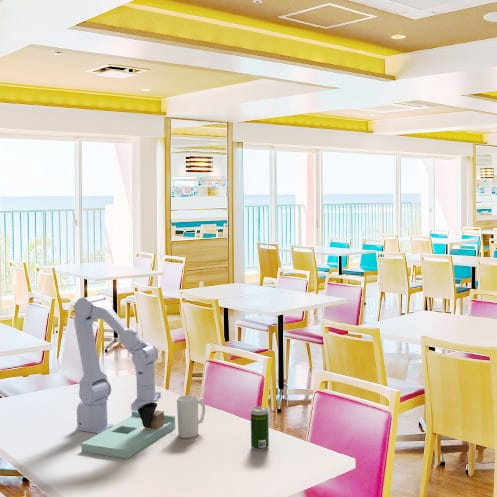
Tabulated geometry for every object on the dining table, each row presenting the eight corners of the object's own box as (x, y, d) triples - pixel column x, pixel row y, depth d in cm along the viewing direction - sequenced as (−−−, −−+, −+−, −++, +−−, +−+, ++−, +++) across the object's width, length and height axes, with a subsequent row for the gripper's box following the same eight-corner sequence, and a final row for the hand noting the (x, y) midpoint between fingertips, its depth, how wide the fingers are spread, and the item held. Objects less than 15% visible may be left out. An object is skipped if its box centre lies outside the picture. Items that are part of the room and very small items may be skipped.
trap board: (81, 451, 214) (81, 438, 214) (133, 422, 241) (133, 410, 241) (126, 458, 208) (126, 445, 208) (175, 427, 235) (174, 415, 234)
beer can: (272, 449, 214) (271, 410, 213) (256, 452, 212) (255, 412, 211) (263, 443, 219) (263, 405, 218) (248, 446, 217) (247, 408, 216)
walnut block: (144, 427, 228) (144, 413, 227) (152, 423, 232) (151, 409, 231) (156, 429, 226) (156, 415, 225) (164, 425, 230) (163, 411, 230)
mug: (185, 440, 223) (184, 402, 222) (173, 434, 228) (172, 397, 227) (211, 432, 229) (210, 396, 228) (199, 427, 235) (198, 391, 234)
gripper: (144, 391, 216) (145, 435, 217) (168, 379, 229) (169, 420, 230) (124, 389, 219) (126, 432, 220) (149, 377, 232) (150, 418, 233)
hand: (147, 426), depth 225 cm, fingers closed
